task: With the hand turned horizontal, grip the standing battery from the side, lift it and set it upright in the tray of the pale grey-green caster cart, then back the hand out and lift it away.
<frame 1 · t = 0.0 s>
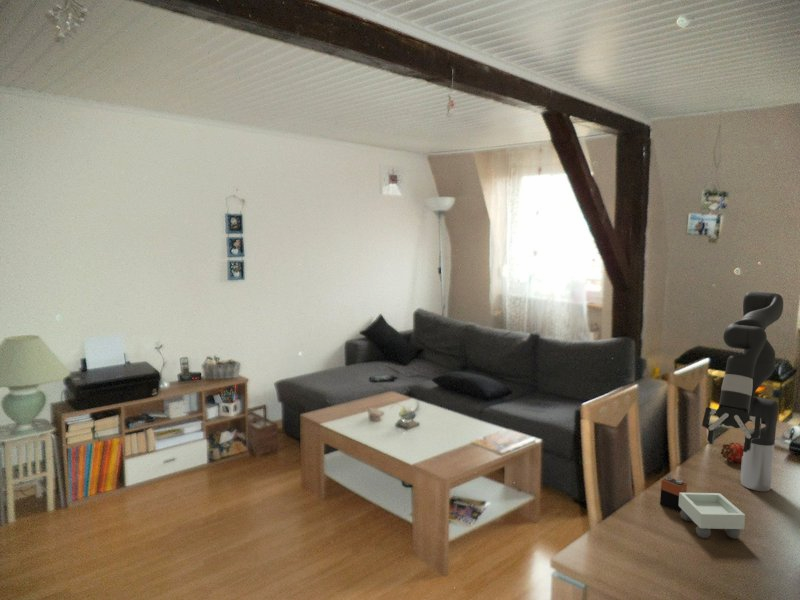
hand: (727, 448, 158), 31 cm above the table, tool tilted 20°, fingers open, 8 cm apart
battery: (672, 507, 188), on the table
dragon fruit: (733, 461, 227), on the table
cart: (710, 516, 174), point 4 cm above the table, slide at 0.0 cm
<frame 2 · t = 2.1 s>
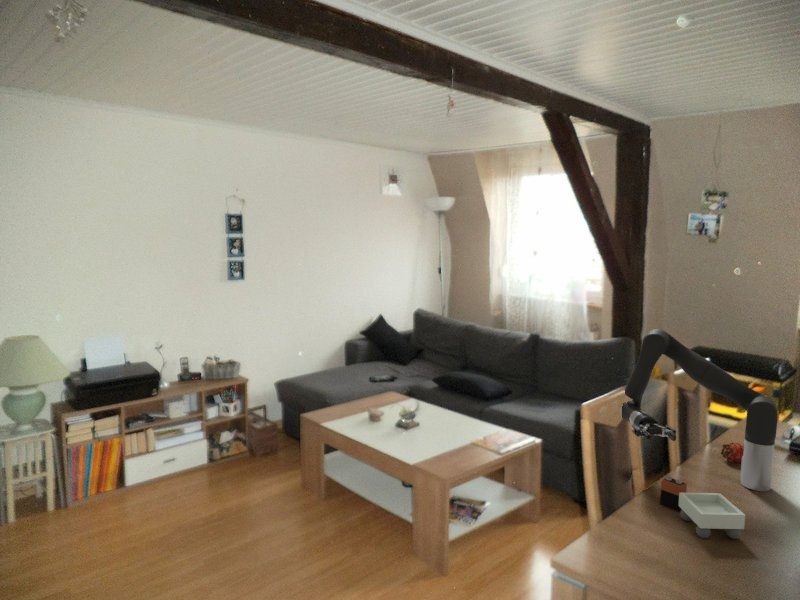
hand: (662, 438, 196), 20 cm above the table, tool horizontal, fingers open, 8 cm apart
nothing on the table moved.
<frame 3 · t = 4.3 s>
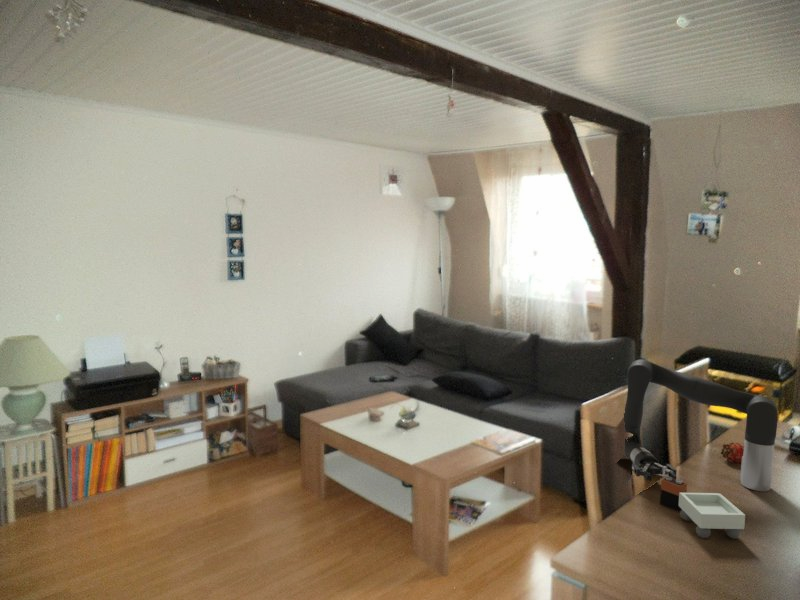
hand: (662, 479, 196), 6 cm above the table, tool horizontal, fingers open, 8 cm apart
nothing on the table moved.
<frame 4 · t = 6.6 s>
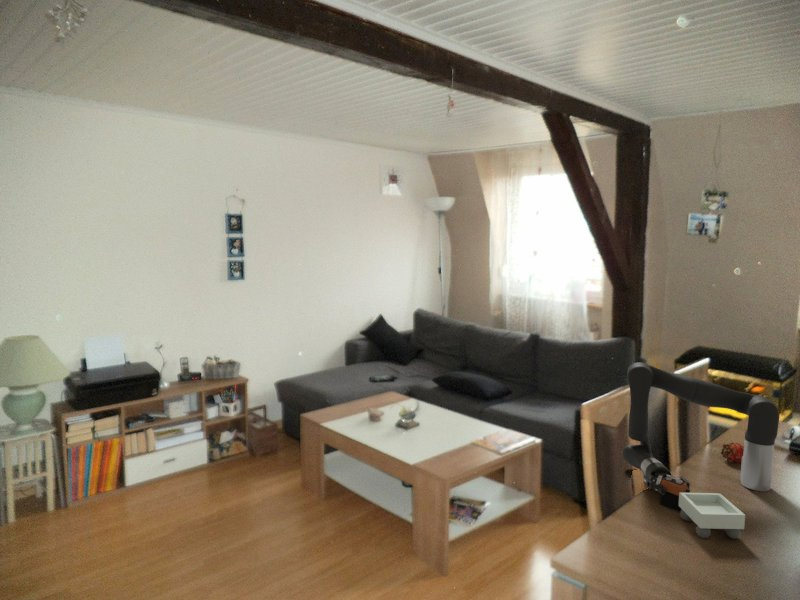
hand: (676, 492, 185), 6 cm above the table, tool horizontal, fingers closed on battery, 7 cm apart
battery: (672, 507, 188), on the table, touching gripper
everything else where it was.
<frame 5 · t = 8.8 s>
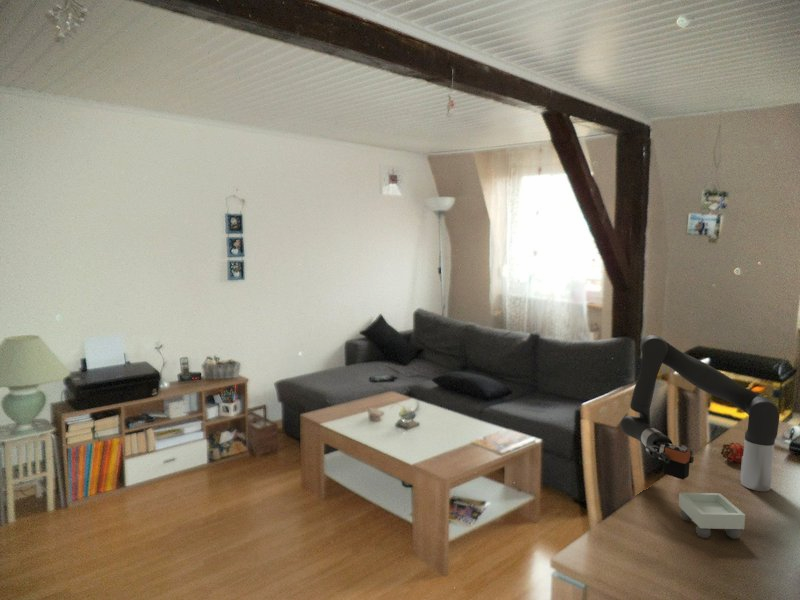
hand: (680, 460, 183), 18 cm above the table, tool horizontal, fingers closed on battery, 7 cm apart
battery: (675, 475, 186), point 11 cm above the table, touching gripper
everything else where it was.
when the fingers open (14 cm above the table, at t = 11.0 s): battery drops 2 cm, resting on cart.
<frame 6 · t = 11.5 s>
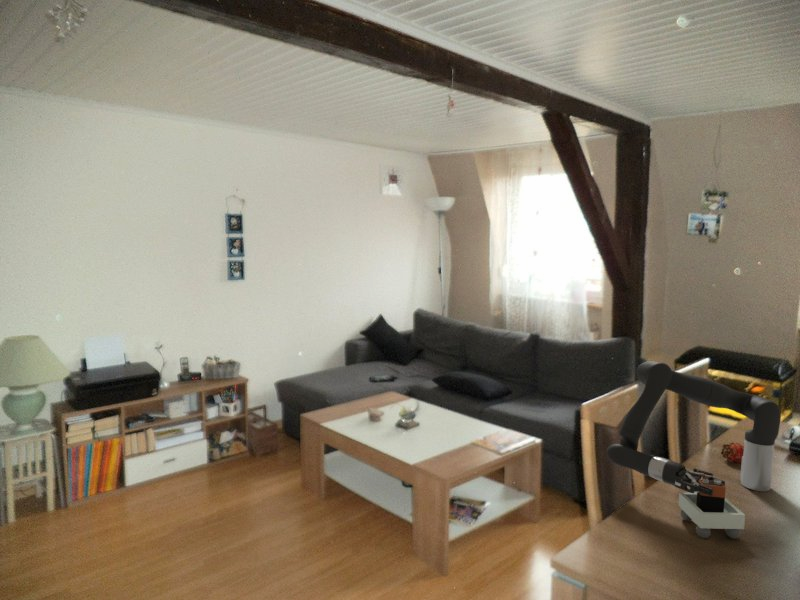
hand: (718, 488, 171), 14 cm above the table, tool horizontal, fingers open, 8 cm apart
battery: (709, 511, 174), point 6 cm above the table, touching cart
cart: (709, 515, 174), point 4 cm above the table, slide at 0.0 cm, touching battery
everything else where it was.
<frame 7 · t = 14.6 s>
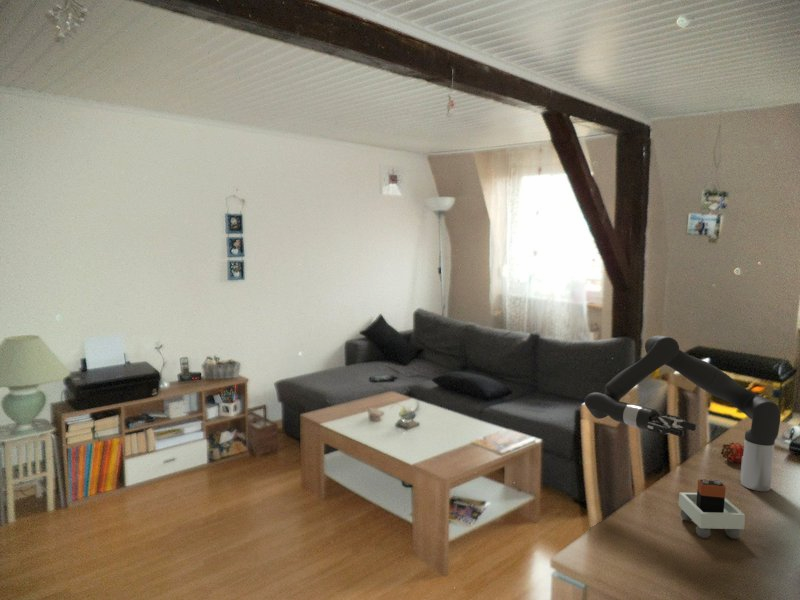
hand: (689, 430, 177), 30 cm above the table, tool horizontal, fingers open, 8 cm apart
nothing on the table moved.
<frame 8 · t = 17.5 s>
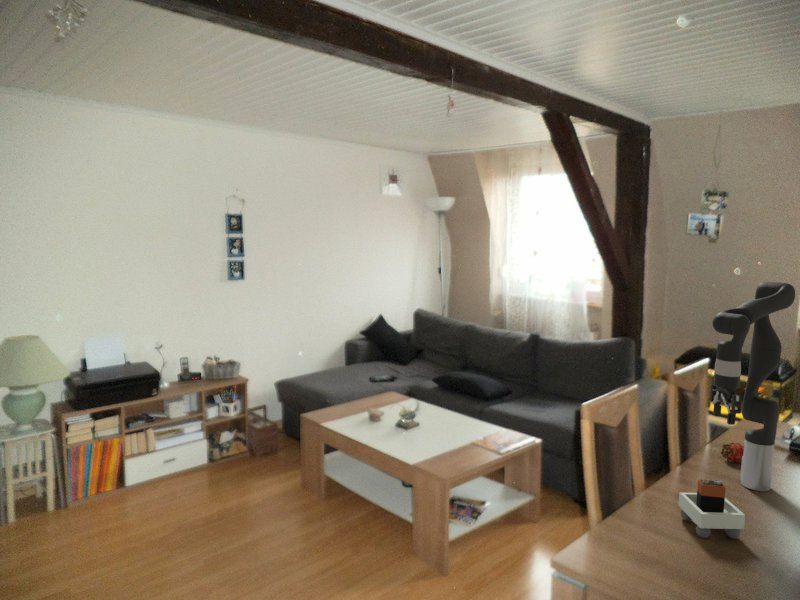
hand: (723, 419, 186), 30 cm above the table, tool pointing down, fingers open, 8 cm apart
nothing on the table moved.
at the end: battery inside the target area on the cart (0.2 cm from its centre), point 5.8 cm above the cart's base; battery tilted 0°; the gripper is holding nothing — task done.
